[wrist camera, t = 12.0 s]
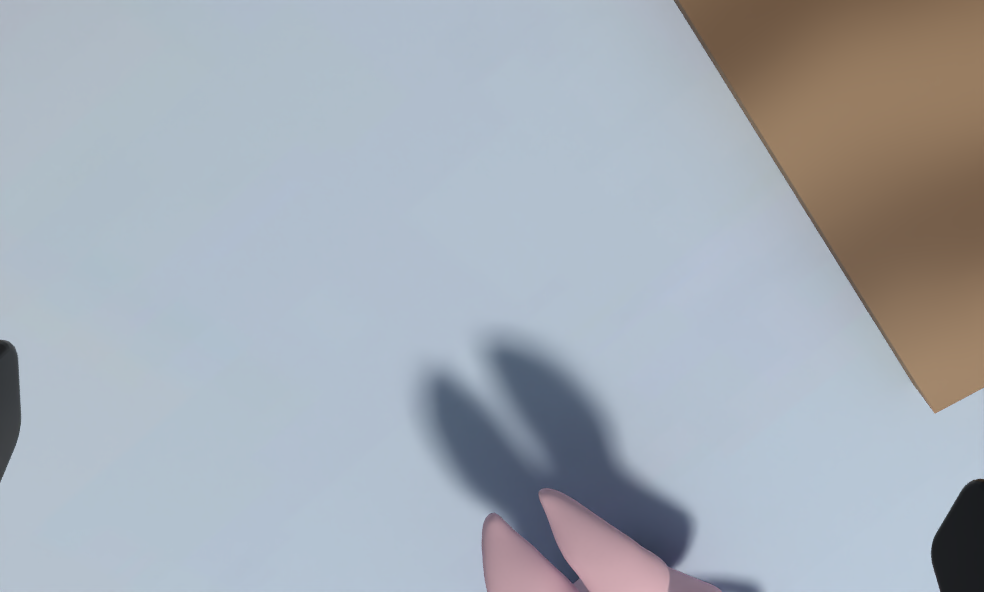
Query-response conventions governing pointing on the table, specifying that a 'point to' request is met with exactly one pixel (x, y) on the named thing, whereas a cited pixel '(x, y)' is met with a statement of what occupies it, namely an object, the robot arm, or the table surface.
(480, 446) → the table surface
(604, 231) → the table surface
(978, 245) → the walnut board
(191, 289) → the table surface
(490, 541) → the rabbit figure
